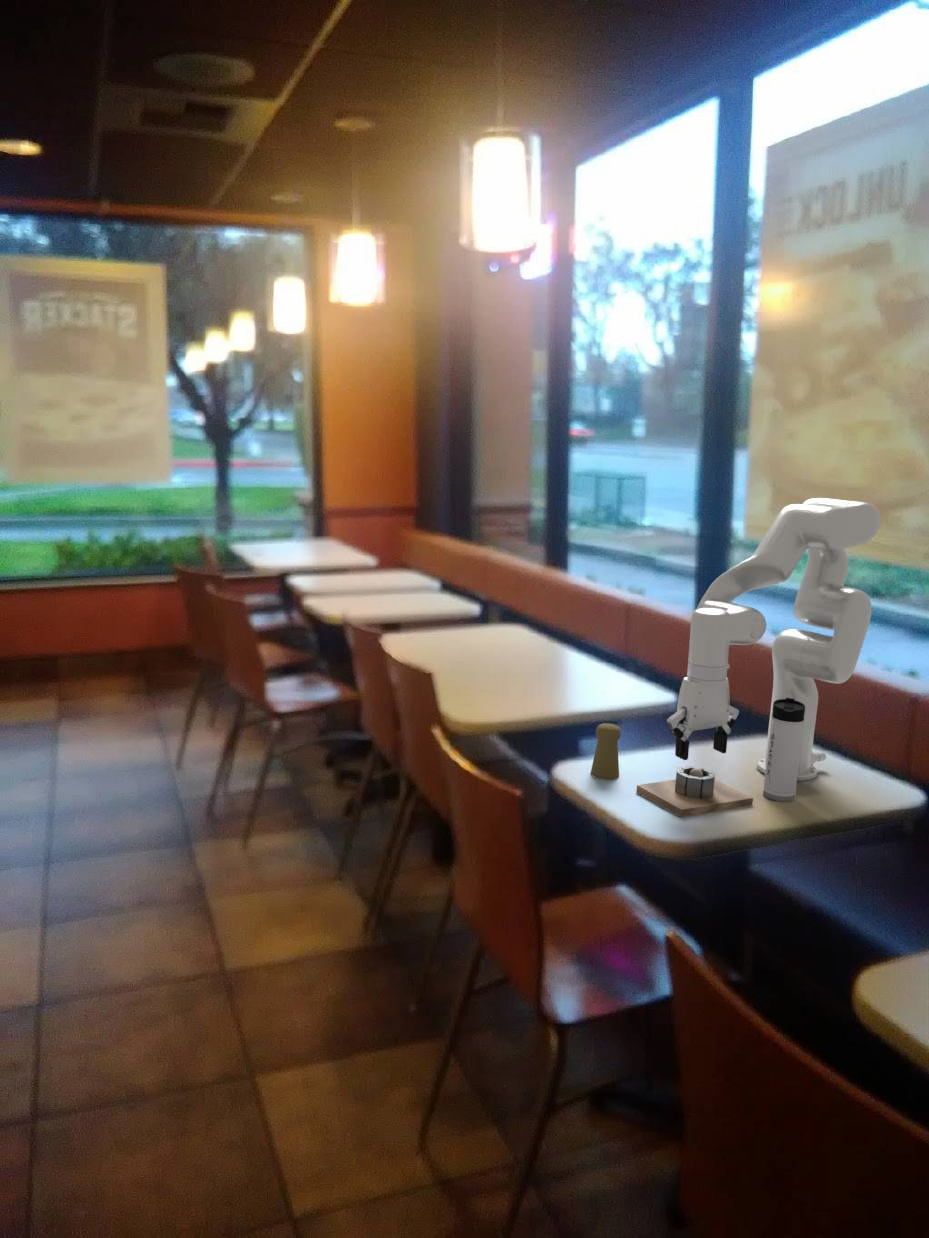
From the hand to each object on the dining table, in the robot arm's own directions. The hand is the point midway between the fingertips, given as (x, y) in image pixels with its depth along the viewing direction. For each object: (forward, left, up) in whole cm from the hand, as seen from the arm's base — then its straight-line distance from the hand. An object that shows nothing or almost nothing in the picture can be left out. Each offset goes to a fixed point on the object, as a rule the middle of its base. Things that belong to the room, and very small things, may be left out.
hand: (700, 754), depth 204 cm
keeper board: (+1, 0, -9) cm, 9 cm away
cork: (+10, -18, -9) cm, 22 cm away
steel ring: (+1, 0, -8) cm, 8 cm away
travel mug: (-17, +5, -9) cm, 20 cm away
